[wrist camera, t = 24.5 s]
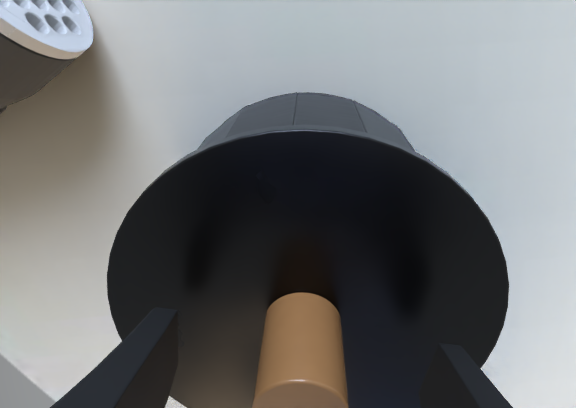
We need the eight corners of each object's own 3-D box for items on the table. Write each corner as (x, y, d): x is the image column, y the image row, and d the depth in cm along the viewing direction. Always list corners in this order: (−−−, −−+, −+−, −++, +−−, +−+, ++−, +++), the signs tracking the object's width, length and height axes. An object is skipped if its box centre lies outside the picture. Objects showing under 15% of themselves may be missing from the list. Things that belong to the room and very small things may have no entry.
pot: (393, 315, 22) (426, 439, 16) (187, 289, 22) (139, 403, 16) (459, 111, 17) (547, 177, 10) (188, 75, 16) (116, 120, 10)
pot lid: (431, 432, 16) (467, 563, 13) (132, 395, 16) (78, 515, 12) (562, 149, 11) (702, 233, 7) (104, 88, 11) (-12, 139, 7)
